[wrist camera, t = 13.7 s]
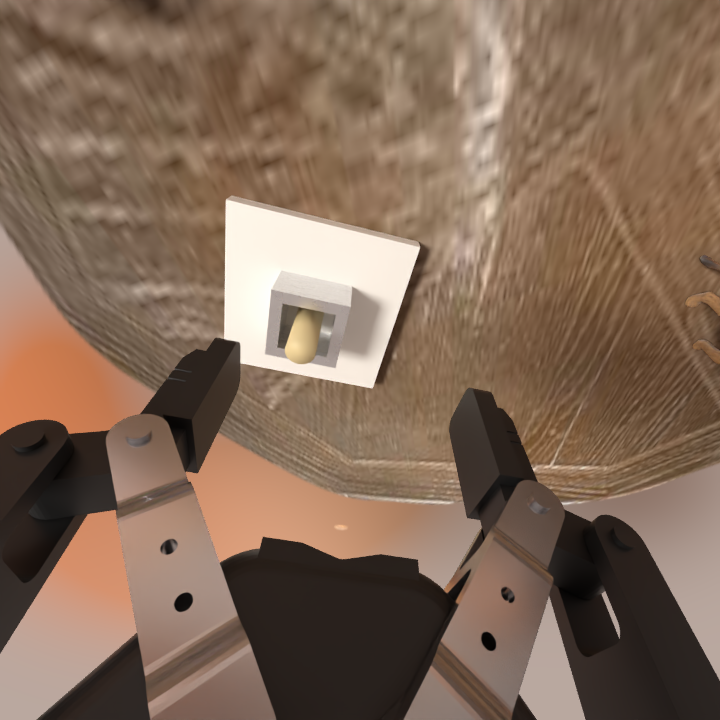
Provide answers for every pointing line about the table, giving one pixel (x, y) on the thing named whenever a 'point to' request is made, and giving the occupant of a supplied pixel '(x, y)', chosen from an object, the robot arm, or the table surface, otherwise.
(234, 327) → the post board
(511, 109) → the table surface
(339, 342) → the steel collar
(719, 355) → the lion figurine
